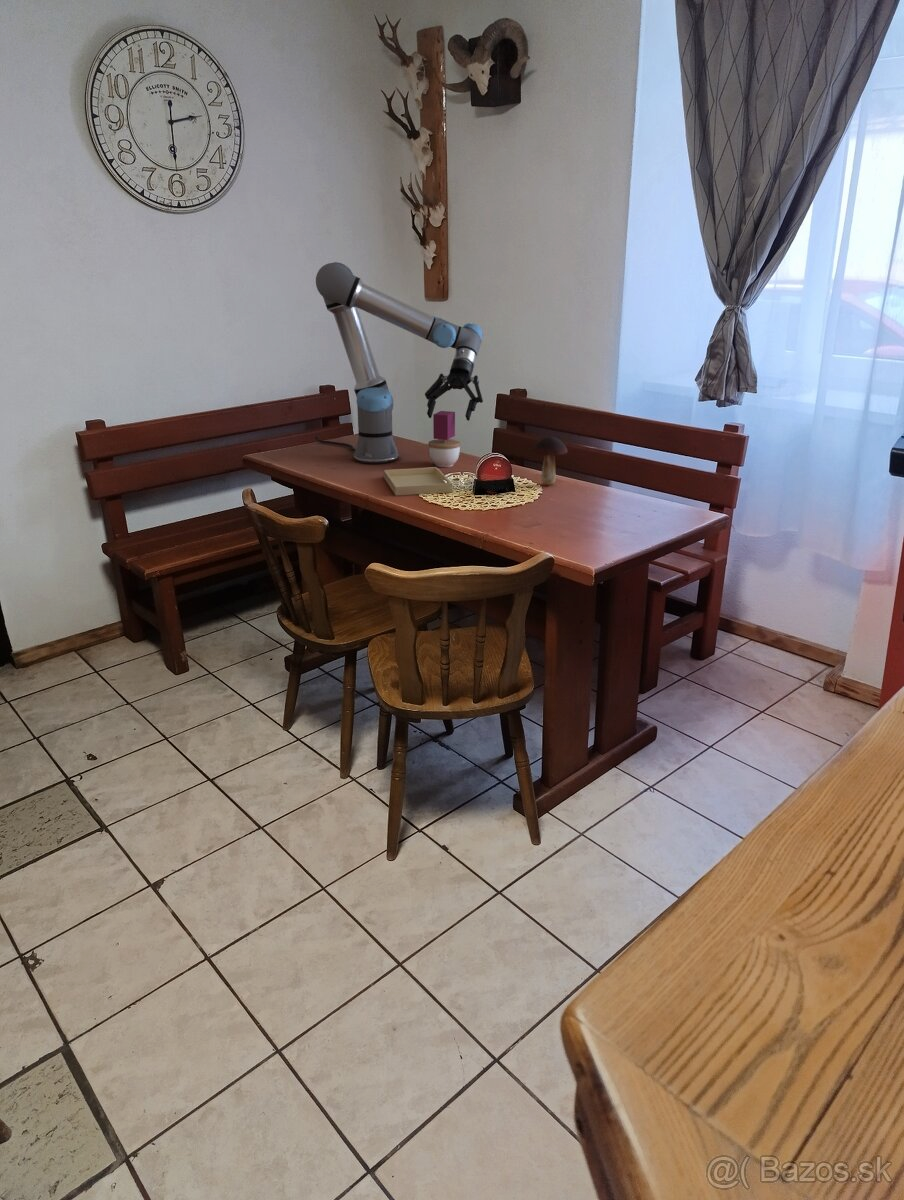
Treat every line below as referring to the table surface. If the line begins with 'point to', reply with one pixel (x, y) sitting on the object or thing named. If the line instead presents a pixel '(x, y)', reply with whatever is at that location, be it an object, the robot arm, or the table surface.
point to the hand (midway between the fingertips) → (447, 417)
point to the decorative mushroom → (549, 457)
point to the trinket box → (444, 452)
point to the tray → (417, 481)
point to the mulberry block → (444, 425)
